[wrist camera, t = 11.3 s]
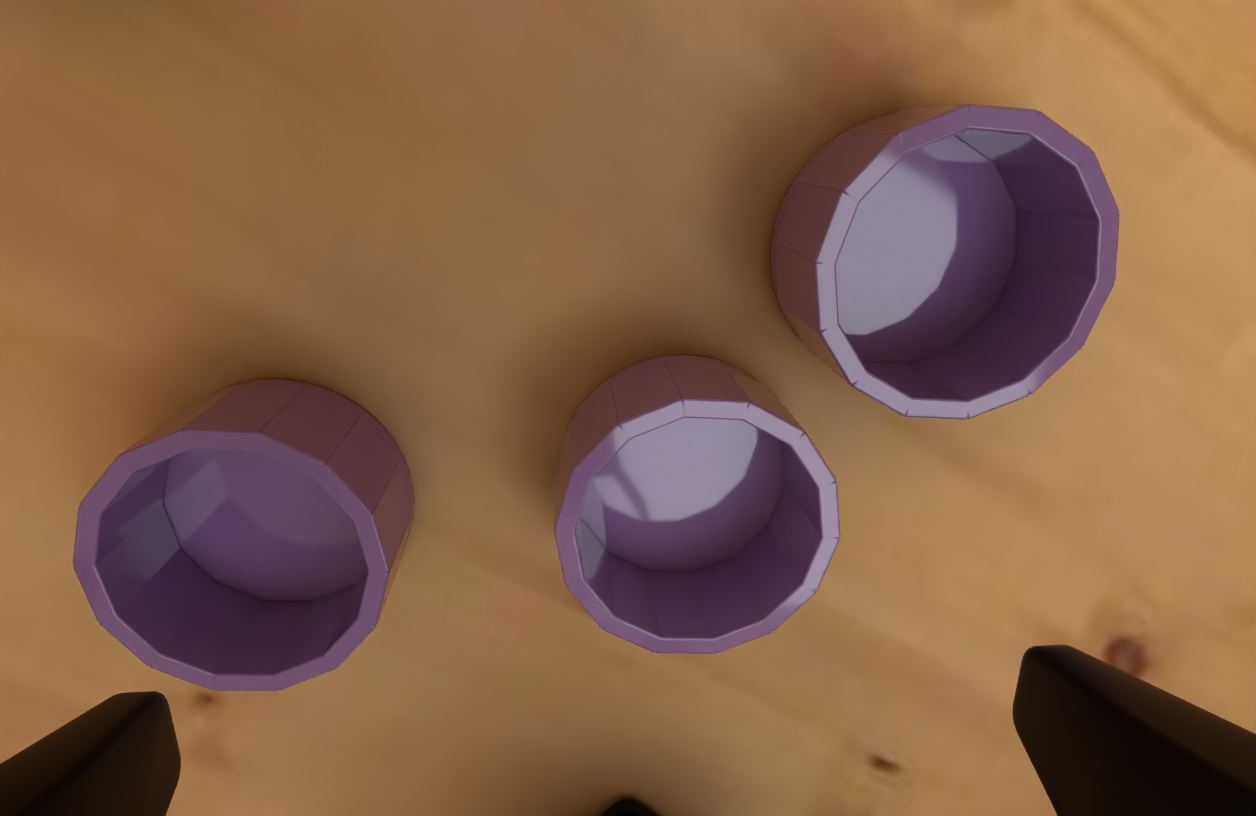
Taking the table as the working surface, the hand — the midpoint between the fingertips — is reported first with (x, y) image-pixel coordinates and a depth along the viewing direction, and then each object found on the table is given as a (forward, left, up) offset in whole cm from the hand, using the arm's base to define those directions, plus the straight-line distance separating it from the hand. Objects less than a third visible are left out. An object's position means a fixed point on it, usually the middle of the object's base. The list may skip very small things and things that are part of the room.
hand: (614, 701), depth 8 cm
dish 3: (-4, -7, -12) cm, 15 cm away
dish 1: (+3, +7, -12) cm, 14 cm away
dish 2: (-4, 0, -12) cm, 13 cm away
